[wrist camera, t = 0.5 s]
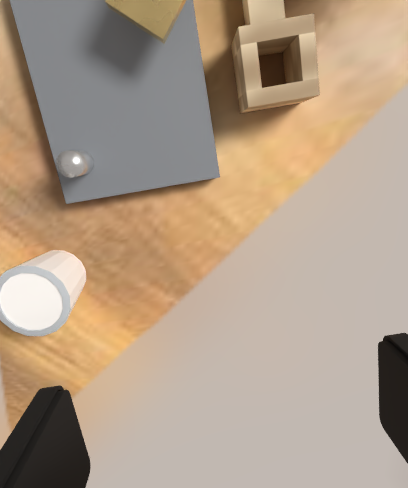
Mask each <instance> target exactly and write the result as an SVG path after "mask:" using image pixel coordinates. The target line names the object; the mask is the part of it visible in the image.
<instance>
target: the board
mask: <svg viewBox="0 0 408 488" xmlns="http://www.w3.org/2000/svg"><path fill="white" fill-rule="evenodd" d="M10 3H11V7H12V11H13V14H14V18H15V21H16V25H17V29H18V32H19V36H20V39H21V43H22V47H23V50H24V54H25V57H26V61H27V65H28V68H29V72H30V75H31V79H32V83H33V86H34V90H35V93H36V97H37V101H38V104H39V108H40V111H41V115H42V119H43V122H44V126H45V129H46V133H47V137H48V140H49V144H50V147H51V151H52V155H53V158H54V162H55V165H56V160H57V157H58V155H59V154H60V153H61V152H63V151H70V150H83V151H86V152H88V153H89V154H90V155H91V156H92V157H93V159H94V168H93V170H92V171H91V172H90V173H88V174H85V175H81V176H77V177H66V176H64V175H62V174H61V173H60V172H59V170H58V169H57V165H56V169H57V172H58V176H59V180H60V183H61V187H62V190H63V194H64V198H65V201H66V204H69V203H75V202H80V201H86V200H92V199H97V198H103V197H109V196H115V195H120V194H126V193H132V192H138V191H143V190H149V189H155V188H161V187H166V186H172V185H178V184H184V183H189V182H195V181H201V180H207V179H212V178H218V177H220V174H219V167H218V161H217V154H216V148H215V141H214V135H213V128H212V122H211V115H210V109H209V102H208V96H207V89H206V83H205V76H204V70H203V63H202V57H201V50H200V44H199V37H198V30H197V24H196V17H195V11H194V4H193V0H186V2H185V4H184V6H183V8H182V10H181V12H180V14H179V16H178V18H177V20H176V22H175V24H174V26H173V28H172V30H171V32H170V34H169V36H168V38H167V40H166V42H165V44H163V43H162V42H160V41H159V40H157V39H156V38H154V37H153V36H151V35H149V34H148V33H146V32H145V31H143V30H142V29H140V28H139V27H137V26H136V25H134V24H133V23H131V22H130V21H128V20H127V19H125V18H123V17H122V16H120V15H119V14H117V13H116V12H114V11H113V10H111V9H110V8H109V7H108V6H107V4H106V2H105V0H10Z"/></svg>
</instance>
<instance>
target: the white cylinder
mask: <svg viewBox="0 0 408 488" xmlns="http://www.w3.org/2000/svg"><path fill="white" fill-rule="evenodd" d="M85 282H86V270H85V268H84V266H83V264H82V262H81V261H80V260H79V259H78V258H77V257H76V256H74V255H73V254H71V253H68V252H66V251H63V250H52V251H49V252H47V253H44V254H42V255H39V256H37V257H35V258H33V259H31V260H29V261H27V262H24V263H22V264H20V265H18V266H16V267H14V268H12V269H9V270H7V271H5V272H4V273H3V274H2V276H1V277H0V320H1V321H2V322H3V323H4V324H5V325H7V326H8V327H9V328H10V329H12V330H13V331H15V332H18V333H21V334H24V335H26V336H45V335H47V334H50V333H53V332H55V331H57V330H58V329H59V328H60V327H61V326H62V325H63V324H64V323H65V322H66V321H67V319H68V317H69V315H70V313H71V311H72V309H73V307H74V305H75V303H76V301H77V299H78V297H79V295H80V293H81V291H82V289H83V287H84V284H85Z"/></svg>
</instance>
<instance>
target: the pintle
mask: <svg viewBox="0 0 408 488" xmlns="http://www.w3.org/2000/svg"><path fill="white" fill-rule="evenodd" d="M56 165H57V169H58V170H59V172H60V173H61V174H62V175H64V176H66V177H77V176H81V175H85V174H88V173H90V172H91V171H92V170H93V168H94V159H93V157H92V156H91V155H90V154H89V153H88V152H86V151H83V150H70V151H63V152H61V153H60V154H59V155H58V157H57V160H56Z"/></svg>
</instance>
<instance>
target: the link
mask: <svg viewBox="0 0 408 488" xmlns="http://www.w3.org/2000/svg"><path fill="white" fill-rule="evenodd" d="M242 4H243V12H244V21H245V26H240V27H238V29H237V31H236V34H235V37H234V39H233V42H232V44H231V48H232V56H233V63H234V71H235V79H236V86H237V94H238V101H239V109H240V113H246V112H252V111H257V110H263V109H269V108H275V107H280V106H286V105H292V104H297V103H302V102H304V101H307V100H309V99H311V98H314V97H316V96H318V95H320V91H319V77H318V63H317V49H316V36H315V22H314V13H313V14H307V15H302V16H296V17H290V18H285V10H284V0H242ZM279 52H283V59H284V69H285V80H286V84H282V85H276V86H270V87H265V88H262V84H261V75H260V67H259V58H258V56H263V55H268V54H274V53H279Z"/></svg>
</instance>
